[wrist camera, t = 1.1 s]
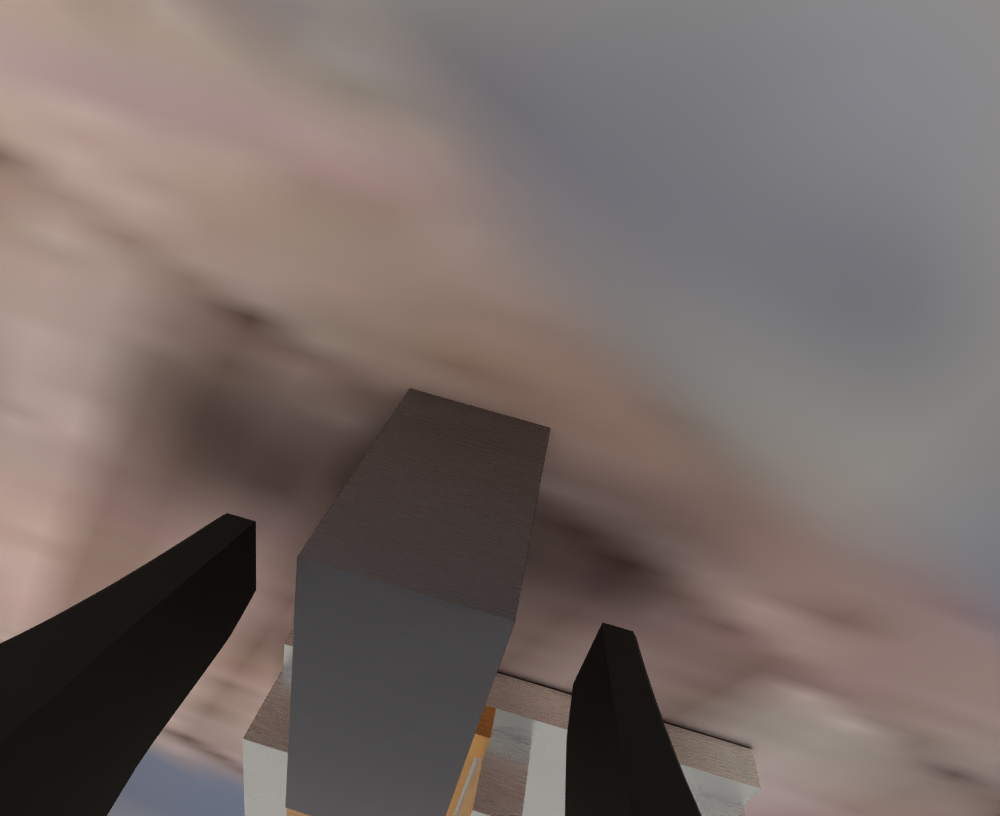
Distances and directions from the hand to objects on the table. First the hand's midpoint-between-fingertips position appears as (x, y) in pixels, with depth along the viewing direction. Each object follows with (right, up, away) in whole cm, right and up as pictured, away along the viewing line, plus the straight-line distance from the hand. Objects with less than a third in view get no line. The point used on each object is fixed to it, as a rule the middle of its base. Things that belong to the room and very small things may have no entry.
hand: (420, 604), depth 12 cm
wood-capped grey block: (0, +1, +2) cm, 2 cm away
